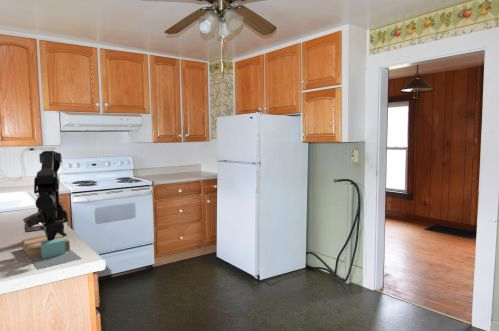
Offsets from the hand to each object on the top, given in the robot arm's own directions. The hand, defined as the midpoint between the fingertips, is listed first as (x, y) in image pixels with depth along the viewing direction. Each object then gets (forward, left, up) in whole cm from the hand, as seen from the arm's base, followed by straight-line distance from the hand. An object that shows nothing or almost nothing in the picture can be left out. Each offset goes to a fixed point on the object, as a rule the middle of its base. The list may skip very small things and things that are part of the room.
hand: (50, 243), depth 141 cm
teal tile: (+2, 0, -1) cm, 2 cm away
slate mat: (+6, 0, -5) cm, 8 cm away
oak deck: (-9, 0, -5) cm, 10 cm away
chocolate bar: (-53, +5, -5) cm, 53 cm away
